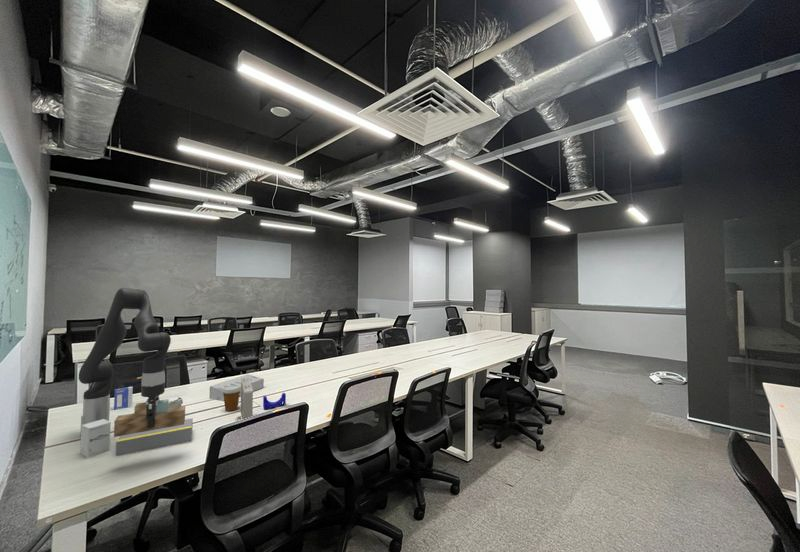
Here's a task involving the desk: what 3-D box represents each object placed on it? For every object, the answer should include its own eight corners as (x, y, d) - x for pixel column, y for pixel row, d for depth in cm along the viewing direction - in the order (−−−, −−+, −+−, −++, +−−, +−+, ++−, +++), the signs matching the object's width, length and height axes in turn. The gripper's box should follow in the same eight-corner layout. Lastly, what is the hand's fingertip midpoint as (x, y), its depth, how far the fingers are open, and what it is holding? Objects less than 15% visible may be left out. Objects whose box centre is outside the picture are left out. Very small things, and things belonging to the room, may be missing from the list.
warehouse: (226, 401, 195) (226, 389, 195) (209, 398, 200) (209, 386, 200) (263, 387, 223) (263, 376, 223) (247, 384, 228) (247, 374, 228)
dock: (115, 457, 131) (116, 441, 131) (122, 444, 141) (122, 430, 141) (191, 441, 144) (191, 427, 144) (192, 430, 154) (192, 417, 155)
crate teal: (154, 413, 128) (155, 403, 128) (156, 410, 131) (156, 400, 131) (167, 412, 130) (167, 402, 130) (168, 408, 133) (168, 399, 133)
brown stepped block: (113, 437, 121) (114, 420, 121) (117, 431, 125) (118, 415, 125) (183, 424, 132) (184, 409, 132) (184, 419, 137) (185, 405, 137)
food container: (167, 426, 159) (167, 406, 160) (157, 425, 161) (157, 405, 161) (188, 416, 172) (188, 397, 172) (178, 415, 173) (179, 396, 173)
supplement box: (86, 460, 128) (87, 428, 129) (79, 455, 132) (80, 424, 132) (110, 451, 135) (111, 421, 135) (102, 447, 139) (103, 418, 139)
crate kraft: (134, 417, 124) (134, 406, 124) (136, 413, 128) (136, 403, 128) (147, 415, 126) (147, 404, 126) (148, 411, 130) (149, 401, 130)
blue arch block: (264, 409, 182) (264, 398, 183) (263, 406, 186) (263, 396, 187) (286, 405, 188) (286, 395, 189) (284, 402, 192) (284, 392, 192)
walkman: (114, 411, 178) (114, 389, 178) (114, 410, 180) (114, 388, 180) (132, 407, 184) (133, 386, 184) (132, 406, 186) (132, 385, 186)
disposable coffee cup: (239, 410, 180) (240, 389, 180) (220, 412, 176) (221, 391, 177) (241, 404, 189) (241, 384, 189) (223, 406, 185) (223, 386, 186)
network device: (257, 430, 155) (257, 389, 155) (237, 434, 151) (237, 392, 151) (252, 412, 177) (253, 376, 178) (234, 415, 173) (235, 378, 173)
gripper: (144, 379, 133) (143, 420, 133) (138, 389, 121) (136, 434, 121) (166, 376, 137) (165, 416, 137) (162, 386, 125) (161, 429, 124)
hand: (152, 424), depth 129 cm, fingers closed on brown stepped block, 5 cm apart
